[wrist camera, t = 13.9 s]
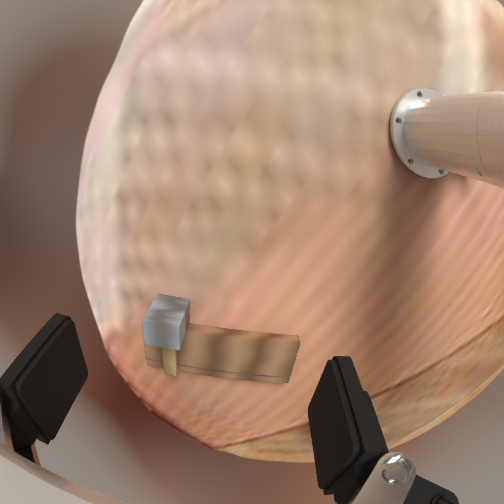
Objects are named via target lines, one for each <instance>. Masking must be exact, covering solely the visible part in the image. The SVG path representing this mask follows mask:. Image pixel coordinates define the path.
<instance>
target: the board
mask: <svg viewBox="0 0 504 504" xmlns="http://www.w3.org/2000/svg"><path fill="white" fill-rule="evenodd" d="M142 327H143V324H142ZM143 337H144V334H143ZM144 345H145V353H146V361H147V365H151V366H156V367H161V368H164V364H163V352H162V347H158V346H153V345H148V344H145V343H144ZM299 346H300V341H299V336H292V335H281V334H270V333H260V332H250V331H242V330H233V329H225V328H217V327H210V326H203V325H196V324H190V323H189V324H188V327H187V330H186V333H185V336H184V339H183V342H182V345H181V348H180V350H177V365H178V371H182V372H188V373H195V374H201V375H208V376H215V377H223V378H231V379H240V380H250V381H261V382H275V383H288V382H289V378H290V375H291V372H292V369H293V366H294V363H295V359H296V356H297V353H298V349H299Z"/></svg>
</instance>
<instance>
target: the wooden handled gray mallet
mask: <svg viewBox="0 0 504 504" xmlns="http://www.w3.org/2000/svg"><path fill="white" fill-rule="evenodd" d="M189 321H190V299H188V298H181V297H174V296H168V295H161V294H157V296H156V297H155V299H154V301H153V302H152V304H151V306H150V308H149V309H148V311H147V313H146V315H145V316H144V318H143V320H142V324H143V334H144V343H145V344H148V345H153V346H158V347H162V352H163V364H164V374H167V375H173V376H177V372H178V365H177V350H180V348H181V345H182V342H183V339H184V336H185V333H186V330H187V327H188V324H189Z"/></svg>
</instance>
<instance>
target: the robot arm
mask: <svg viewBox="0 0 504 504" xmlns="http://www.w3.org/2000/svg"><path fill="white" fill-rule="evenodd" d="M396 120H397V123H396ZM390 133H391V139H392V143H393V146H394V149H395V151H396V153H397V155H398V157H399V158H400V160H401V161H402V163H403V164H404V165H405V166H406V167H407V168H408V169H409V170H411V171H412V172H414V173H415V174H417V175H420V176H423V177H426V178H439V177H442V176H445V175H447V174H448V173H449V172H452V173H455V174H459V175H462V176H466V177H469V178H473V179H476V180H479V181H483V182H486V183H489V184H492V185H495V186H498V187H501V188H504V91H490V92H477V93H466V94H457V95H449V96H443V95H441V94H440V93H438V92H436V91H434V90H431V89H425V88H420V89H414V90H411V91H408V92H407V93H405V94H403V95H402V96H401V97H400V98H399V99H398V101H397V102H396V104H395V106H394V108H393V111H392V114H391V120H390ZM408 159H409V162H408ZM87 377H88V370H87V367H86V363H85V360H84V357H83V353H82V350H81V346H80V343H79V339H78V335H77V332H76V328H75V324H74V322H73V321H72V320H71V318H70V317H69V316H66V315H62V314H59V313H56V314H55V315H54V316H53V317H52V318H51V319H50V320H49V321H48V322H47V323H46V324H45V325H44V326H43V327H42V329H41V330H40V331H39V332H38V333H37V334H36V335H35V336H34V338H33V339H32V340H31V341H30V342H29V343H28V345H27V346H26V347H25V348H24V349H23V350H22V352H21V353H20V354H19V355H18V356H17V358H16V359H15V360H14V362H13V363H12V364H11V365H10V366H9V368H8V369H7V370H6V371H5V373H4V374H3V375H2V376H1V378H0V504H131V503H128V502H124V501H121V500H118V499H115V498H112V497H109V496H106V495H103V494H101V493H98V492H95V491H92V490H90V489H87V488H85V487H83V486H80V485H78V484H76V483H73V482H71V481H69V480H66V479H65V478H62V477H60V476H58V475H56V474H54V473H52V472H50V471H48V470H46V469H44V468H43V467H41V465H40V462H39V458H38V455H37V451H36V448H35V443H34V442H35V440H36V439H38V440H40V441H42V442H44V443H46V444H49V442H50V440H53V439H54V438H55V437H56V435H57V433H58V431H59V429H60V427H61V425H62V423H63V421H64V419H65V417H66V415H67V414H68V412H69V410H70V408H71V406H72V404H73V402H74V401H75V399H76V397H77V395H78V393H79V392H80V390H81V388H82V386H83V385H84V383H85V381H86V379H87ZM308 418H309V424H310V431H311V438H312V445H313V451H314V459H315V466H316V473H317V481H318V486H319V488H320V489H323V492H324V495H329V494H334V500H335V502H336V503H335V504H459V502H458V499H457V497H456V496H455V494H454V493H452V492H451V491H449V490H447V489H445V488H443V487H440V486H438V485H436V484H434V483H432V482H430V481H428V480H426V479H424V478H422V477H420V476H418V475H416V466H415V464H414V461H413V460H412V459H411V458H410V457H409V456H407V455H406V454H403V453H400V452H391V453H389V452H388V448H387V445H386V442H385V439H384V436H383V433H382V430H381V427H380V424H379V422H378V419H377V416H376V413H375V410H374V407H373V404H372V402H371V399H370V396H369V394H368V393H367V392H366V391H363V389H362V386H361V384H360V381H359V378H358V375H357V373H356V370H355V367H354V364H353V362H352V359H351V357H349V356H334V357H333V358H332V360H328V361H327V363H326V366H325V368H324V371H323V373H322V376H321V378H320V381H319V383H318V385H317V388H316V390H315V392H314V395H313V397H312V399H311V402H310V404H309V407H308Z"/></svg>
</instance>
